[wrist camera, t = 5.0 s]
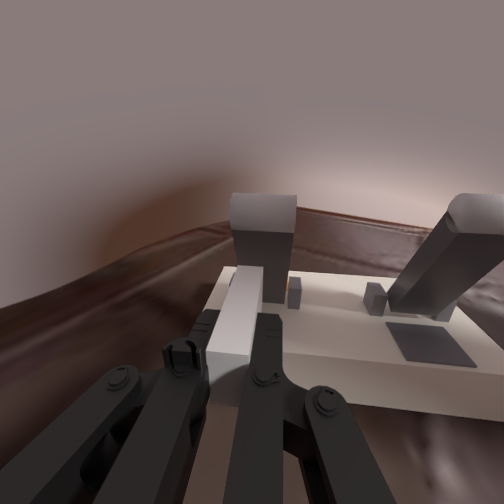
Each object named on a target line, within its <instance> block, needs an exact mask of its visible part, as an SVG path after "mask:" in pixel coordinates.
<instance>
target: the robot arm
mask: <svg viewBox="0 0 504 504" xmlns="http://www.w3.org/2000/svg"><path fill="white" fill-rule="evenodd" d="M262 292H263V267H257V266H242V265H238V267H237V269H236V272H235V274H234V277H233V280H232V282H231V285H230V288H229V290H228V293H227V296H226V298H225V301H224V304H223V306H222V309H221V310H215V309H205V310H204V311H203V312H202V313H200V314H199V315H198V317H197V319H196V321H195V324H194V325H193V327H192V329H191V331H190V333H189V335H188V337H182V338H177V339H174V340H172V341H170V342H169V343H167V344H166V345H165V346H164V347H163V349H162V353H163V358H164V364H165V367H164V368H162V369H159V370H155V371H150V372H144V373H139V370H138V368H136V367H135V366H133V365H127V364H126V365H120V366H117V367H115V368H112V369H110V370H109V371H108V372H106V373H105V374H104V375H102V376H101V377H100V378H99V379H98V380H97V381H96V382H95V383H94V384H93V385H92V386H91V387H89V388H88V389H87V390H86V391H85V392H84V393H83V394H82V395H81V396H80V397H79V398H78V399H77V400H75V401H74V402H73V403H72V404H71V405H70V406H69V407H68V408H67V409H66V410H65V411H64V412H62V413H61V414H60V415H59V416H58V417H57V418H56V419H55V420H54V421H53V422H52V423H51V424H50V425H48V426H47V427H46V428H45V429H44V430H43V431H42V432H41V433H40V434H39V435H38V436H37V437H35V438H34V439H33V440H32V441H31V442H30V443H29V444H28V445H27V446H26V447H25V448H24V449H23V450H21V451H20V452H19V453H18V454H17V455H16V456H15V457H14V458H13V459H12V460H11V461H10V462H8V463H7V464H6V465H5V466H4V467H3V468H2V469H1V470H0V504H182V503H183V499H184V496H185V492H186V488H187V485H188V481H189V478H190V474H191V471H192V467H193V463H194V460H195V456H196V453H197V449H198V446H199V442H200V438H201V435H202V431H203V428H204V424H205V421H206V405H207V402H208V399H209V397H210V404H217V405H225V406H233V407H239V411H238V417H237V423H236V429H235V434H234V440H233V446H232V452H231V458H230V463H229V469H228V475H227V481H226V487H225V492H224V498H223V504H283V450H285V451H286V452H288V453H290V454H292V455H294V456H296V457H297V458H298V460H299V464H300V468H301V472H302V476H303V480H304V484H305V488H306V492H307V496H308V500H309V504H397V503H396V501H395V499H394V497H393V495H392V493H391V491H390V489H389V487H388V485H387V483H386V481H385V479H384V477H383V475H382V473H381V471H380V469H379V467H378V465H377V463H376V460H375V458H374V456H373V454H372V452H371V450H370V448H369V446H368V444H367V442H366V440H365V438H364V436H363V434H362V432H361V430H360V428H359V426H358V424H357V422H356V420H355V418H354V416H353V414H352V412H351V410H350V408H349V406H348V403H347V402H346V400H345V399H344V397H343V396H342V395H341V394H340V393H339V392H337V391H336V390H335V389H333V388H330V387H328V386H321V385H318V386H315V387H312V388H311V389H310V390H307V389H305V388H302V387H300V386H298V385H296V384H294V383H293V382H292V381H290V380H289V379H288V378H287V376H286V375H285V373H284V371H283V365H282V361H283V321H282V320H281V318H280V316H279V314H271V313H261V310H262Z"/></svg>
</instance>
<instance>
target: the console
mask: <svg viewBox="0 0 504 504" xmlns="http://www.w3.org/2000/svg"><path fill="white" fill-rule="evenodd" d="M236 269H237V267H224V269H223V271H222V273H221V275H220V277H219V279H218V281H217V283H216V285H215V287H214V289H213V291H212V293H211V295H210V297H209V299H208V301H207V303H206V305H205V307H204V309H203V311H204V310H205V309H215V310H221V309H222V306H223V304H224V301H225V298H226V296H227V293H228V290H229V288H230V285H231V282H232V280H233V277H234V274H235V272H236ZM396 279H397V278H384V277H369V276H355V275H340V274H326V273H312V272H297V271H289V272H288V280H287V287H286V295H285V302H284V304H277V303H265V302H262V310H261V313H271V314H279V316H280V318H281V320H282V321H283V361H282V365H283V371H284V373H285V375H286V376H287V378H288V379H289V380H290V381H292V382H293V383H294V384H296V385H298V386H300V387H302V388H305V389H307V390H310V389H311V388H312V387H315V386H318V385H321V386H328V387H330V388H333V389H335V390H336V391H337V392H339V393H340V394H341V395H342V396H343V397H344V399H345V400H346V402H347V403H353V404H361V405H370V406H378V407H386V408H394V409H402V410H410V411H418V412H427V413H435V414H443V415H451V416H459V417H467V418H475V419H484V420H492V421H500V422H504V350H503V349H502V348H501V347H500V346H498V345H497V344H496V343H495V342H494V341H493V340H492V339H491V338H490V337H489V336H488V335H487V334H486V333H485V332H484V331H483V330H482V329H480V328H479V327H478V326H477V325H476V324H475V323H474V322H473V321H472V320H471V319H470V318H469V317H468V316H467V315H466V314H465V313H463V312H462V311H461V310H460V309H459V308H458V307H457V306H456V304H457V302H458V301H457V300H454V301H453V302H452V303H451V304H450V305H448V306H447V307H446V308H445V309H443V310H442V311H441V312H440V313H439V314H437V315H436V316H434V315H422V314H410V313H397V312H391V311H390V308H389V304H388V294H387V291H388V290H389V288H390V287H391V286H392V284H393V283H394V282H395V280H396ZM203 311H202V312H203Z"/></svg>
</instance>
